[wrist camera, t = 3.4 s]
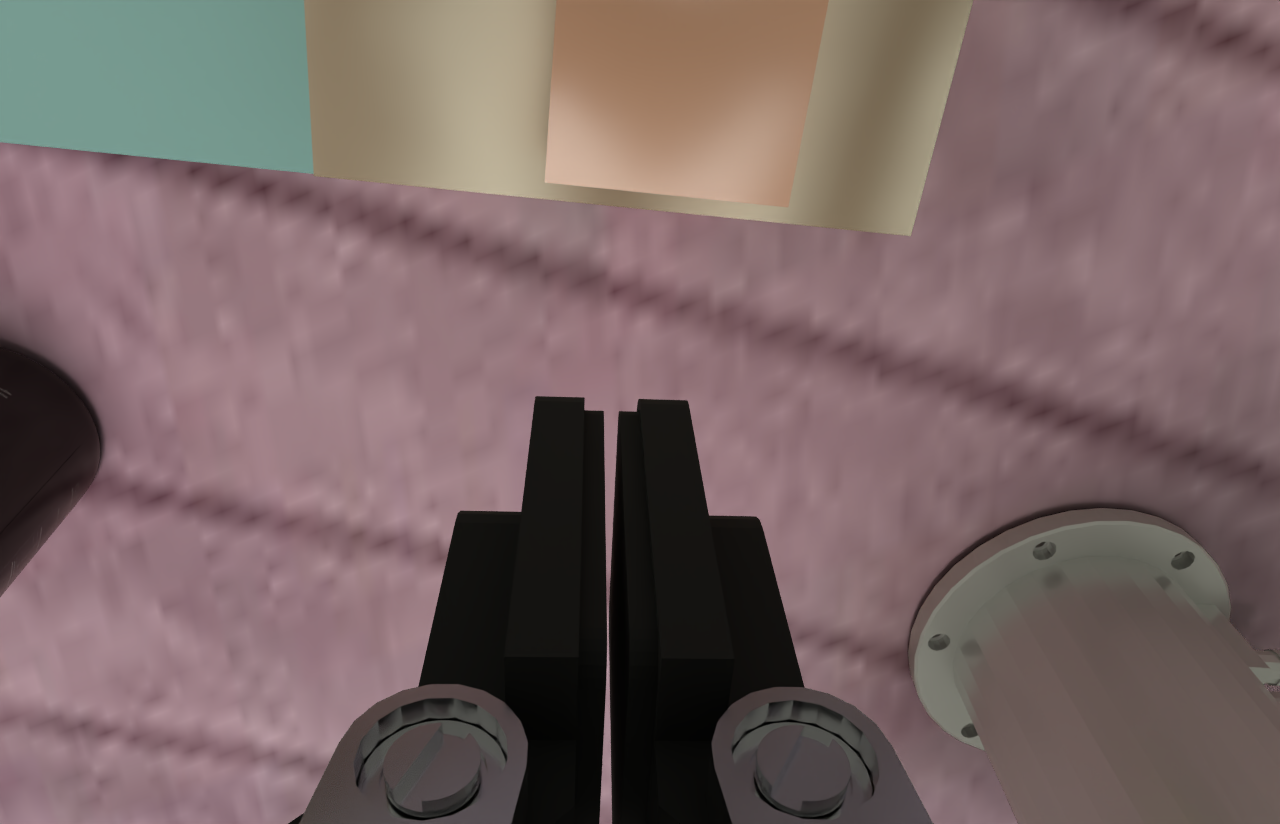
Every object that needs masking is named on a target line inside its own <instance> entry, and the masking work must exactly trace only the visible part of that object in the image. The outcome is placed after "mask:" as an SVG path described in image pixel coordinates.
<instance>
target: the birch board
mask: <svg viewBox="0 0 1280 824" xmlns="http://www.w3.org/2000/svg"><path fill="white" fill-rule="evenodd" d="M972 3H973V0H829V2H828V7H827V12H826V17H825V23H824V28H823V33H822V38H821V43H820V48H819V53H818V58H817V63H816V69H815V74H814V79H813V84H812V89H811V94H810V99H809V104H808V109H807V115H806V120H805V125H804V130H803V135H802V140H801V145H800V150H799V155H798V160H797V166H796V171H795V176H794V181H793V186H792V191H791V196H790V201H789V206H788V207H779V206H769V205H759V204H749V203H740V202H730V201H720V200H710V199H701V198H691V197H681V196H671V195H662V194H652V193H642V192H632V191H623V190H613V189H603V188H593V187H583V186H574V185H564V184H554V183H545V168H546V153H547V137H548V122H549V107H550V91H551V76H552V61H553V46H554V30H555V15H556V0H304V10H305V28H306V46H307V64H308V82H309V100H310V118H311V136H312V153H313V171H314V176H319V177H329V178H339V179H349V180H359V181H369V182H379V183H389V184H398V185H408V186H418V187H428V188H438V189H448V190H458V191H468V192H478V193H488V194H498V195H508V196H518V197H527V198H537V199H547V200H557V201H567V202H577V203H587V204H597V205H607V206H617V207H627V208H637V209H647V210H656V211H666V212H676V213H686V214H696V215H706V216H716V217H726V218H736V219H746V220H756V221H766V222H776V223H786V224H795V225H805V226H815V227H825V228H835V229H845V230H855V231H865V232H875V233H885V234H895V235H905V236H911V233H912V230H913V226H914V222H915V218H916V214H917V211H918V207H919V203H920V199H921V196H922V192H923V188H924V184H925V180H926V177H927V173H928V169H929V165H930V162H931V158H932V154H933V150H934V146H935V143H936V139H937V135H938V131H939V128H940V124H941V120H942V116H943V113H944V109H945V105H946V101H947V97H948V94H949V90H950V86H951V82H952V79H953V75H954V71H955V67H956V63H957V60H958V56H959V52H960V48H961V45H962V41H963V37H964V33H965V29H966V26H967V22H968V18H969V14H970V11H971V7H972Z"/></svg>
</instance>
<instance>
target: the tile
mask: <svg viewBox="0 0 1280 824" xmlns="http://www.w3.org/2000/svg"><path fill="white" fill-rule="evenodd" d="M828 2H829V0H556V15H555V30H554V46H553V61H552V76H551V91H550V107H549V122H548V137H547V153H546V168H545V183H554V184H564V185H574V186H583V187H593V188H603V189H613V190H623V191H632V192H642V193H652V194H662V195H671V196H681V197H691V198H701V199H710V200H720V201H730V202H740V203H749V204H759V205H769V206H779V207H788V206H789V201H790V196H791V191H792V186H793V181H794V176H795V171H796V166H797V160H798V155H799V150H800V145H801V140H802V135H803V130H804V125H805V120H806V115H807V109H808V104H809V99H810V94H811V89H812V84H813V79H814V74H815V69H816V63H817V58H818V53H819V48H820V43H821V38H822V33H823V28H824V23H825V17H826V12H827V7H828Z"/></svg>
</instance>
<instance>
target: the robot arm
mask: <svg viewBox="0 0 1280 824" xmlns="http://www.w3.org/2000/svg"><path fill="white" fill-rule="evenodd" d="M1230 612H1231V603H1230V597H1229V590H1228V585H1227V583H1226V581H1225V578H1224V576H1223V574H1222V572H1221V570H1220V568H1219V566H1218V565H1217V563H1216V562H1215V561H1214V560H1213V559H1212V558H1211V556H1210V555H1209V554H1208V553H1207V552H1206V551H1205V550H1204V548H1203V547H1202V546H1201V545H1200V544H1199V543H1198V542H1197V541H1196V540H1194V539H1193V538H1192V537H1191V536H1190V535H1189V534H1188V533H1186V532H1185V531H1184V530H1183V529H1181V528H1179V527H1177V526H1176V525H1174V524H1172V523H1170V522H1168V521H1166V520H1164V519H1162V518H1160V517H1156V516H1152V515H1149V514H1145V513H1141V512H1137V511H1133V510H1123V509H1110V508H1095V509H1084V510H1072V511H1067V512H1062V513H1058V514H1054V515H1050V516H1045V517H1041V518H1037V519H1035V520H1032V521H1030V522H1027V523H1025V524H1022V525H1020V526H1017V527H1014V528H1012V529H1009V530H1007V531H1005V532H1003V533H1002V534H1000V535H998V536H996V537H995V538H993V539H991V540H989V541H987V542H986V543H984V544H982V545H980V546H979V547H977V548H976V549H975V550H974V551H972V552H971V553H970V554H968V555H967V556H966V557H965V558H963V559H962V560H961V561H959V562H958V563H957V564H955V565H954V566H953V567H952V568H951V570H950V571H949V572H948V573H947V574H946V575H945V576H944V577H943V578H942V579H941V580H940V581H939V582H938V583H937V584H936V585H935V587H934V588H933V590H932V591H931V593H930V594H929V596H928V597H927V599H926V600H925V602H924V603H923V605H922V607H921V608H920V610H919V613H918V615H917V618H916V620H915V623H914V625H913V628H912V630H911V636H910V642H909V649H908V659H909V668H910V675H911V677H912V680H913V683H914V686H915V688H916V691H917V694H918V697H919V699H920V701H921V702H922V704H923V706H924V708H925V709H926V711H927V713H928V715H929V716H930V717H931V718H932V719H933V720H934V721H935V722H936V723H937V724H938V725H939V726H940V727H941V728H942V729H943V730H944V731H945V732H947V733H948V734H950V735H951V736H953V737H954V738H955V739H957V740H959V741H961V742H963V743H965V744H968V745H971V746H973V747H976V748H978V749H981V750H983V751H986V753H987V756H988V758H989V760H990V762H991V764H992V767H993V769H994V771H995V773H996V776H997V778H998V780H999V782H1000V784H1001V787H1002V789H1003V791H1004V793H1005V795H1006V798H1007V800H1008V802H1009V804H1010V806H1011V809H1012V811H1013V813H1014V815H1015V817H1016V820H1017V822H1018V824H1280V692H1277V691H1268V690H1267V688H1266V687H1265V686H1264V684H1265V683H1267V684H1268V685H1273V686H1280V650H1264V651H1258V650H1254V649H1253V648H1252V647H1251V646H1250V645H1249V643H1248V642H1247V641H1246V640H1245V639H1244V638H1243V636H1242V635H1241V634H1240V633H1239V632H1238V631H1237V630H1236V628H1235V627H1234V626H1233V625H1232V624H1231V623H1230V621H1229V620H1230ZM609 660H610V718H611V775H612V824H933V823H932V821H931V819H930V817H929V815H928V813H927V811H926V809H925V808H924V806H923V804H922V802H921V800H920V798H919V796H918V794H917V792H916V791H915V789H914V787H913V785H912V783H911V781H910V779H909V777H908V775H907V774H906V772H905V770H904V768H903V766H902V764H901V762H900V760H899V758H898V757H897V755H896V753H895V751H894V749H893V747H892V745H891V744H890V743H889V741H888V740H887V738H886V737H885V736H884V734H883V733H882V732H881V730H880V729H879V727H878V726H877V725H876V724H875V723H874V722H873V721H872V720H871V719H869V718H868V717H867V716H866V715H864V714H863V713H862V712H861V711H859V710H858V709H857V708H856V707H855V706H853V705H851V704H849V703H847V702H845V701H843V700H841V699H838V698H836V697H834V696H832V695H830V694H828V693H824V692H820V691H815V690H811V689H807V688H804V684H803V680H802V676H801V673H800V669H799V665H798V661H797V657H796V654H795V650H794V646H793V642H792V638H791V634H790V631H789V627H788V623H787V619H786V615H785V612H784V608H783V604H782V600H781V596H780V592H779V589H778V585H777V581H776V577H775V573H774V570H773V566H772V562H771V558H770V554H769V550H768V547H767V543H766V539H765V535H764V531H763V528H762V525H761V522H760V520H759V519H758V518H757V517H751V516H709V514H708V509H707V503H706V498H705V492H704V486H703V481H702V475H701V470H700V464H699V459H698V453H697V448H696V442H695V437H694V431H693V426H692V420H691V415H690V409H689V404H688V401H686V400H652V399H639V400H638V405H637V412H623V411H619V417H618V435H617V456H616V477H615V497H614V518H613V538H612V559H611V580H610V601H609ZM606 666H607V607H606V537H605V468H604V411H586V410H584V398H579V397H543V396H536V397H535V404H534V412H533V420H532V429H531V437H530V445H529V453H528V462H527V470H526V478H525V487H524V495H523V503H522V511H521V512H498V511H460V512H459V513H458V515H457V518H456V522H455V526H454V530H453V535H452V539H451V544H450V548H449V553H448V557H447V561H446V566H445V570H444V575H443V579H442V584H441V588H440V593H439V597H438V602H437V606H436V611H435V615H434V620H433V624H432V628H431V633H430V637H429V642H428V646H427V651H426V655H425V660H424V664H423V669H422V673H421V678H420V682H419V687H416V688H411V689H407V690H403V691H401V692H398V693H396V694H394V695H392V696H390V697H388V698H386V699H384V700H382V701H380V702H377V703H376V704H375V705H373V706H372V707H371V708H370V709H368V710H367V711H366V712H365V713H364V714H362V715H361V716H360V717H359V718H357V719H356V720H355V721H354V722H353V724H352V725H351V726H350V728H349V729H348V731H347V732H346V734H345V735H344V736H343V738H342V739H341V741H340V742H339V744H338V746H337V748H336V750H335V752H334V754H333V756H332V758H331V760H330V762H329V764H328V766H327V768H326V770H325V772H324V774H323V776H322V778H321V780H320V782H319V784H318V786H317V788H316V790H315V792H314V794H313V796H312V798H311V800H310V802H309V804H308V806H307V808H306V810H305V813H303V814H302V815H300V816H299V817H298V818H296V819H295V820H293V821H292V822H290V823H289V824H599V817H600V796H601V776H602V755H603V735H604V714H605V694H606Z"/></svg>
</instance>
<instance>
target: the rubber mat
mask: <svg viewBox="0 0 1280 824" xmlns="http://www.w3.org/2000/svg"><path fill="white" fill-rule="evenodd" d="M0 142H4V143H14V144H24V145H34V146H44V147H54V148H63V149H73V150H83V151H93V152H103V153H113V154H123V155H133V156H143V157H153V158H162V159H172V160H182V161H192V162H202V163H212V164H222V165H232V166H242V167H252V168H262V169H271V170H281V171H291V172H301V173H311V174H314V171H313V153H312V136H311V118H310V100H309V82H308V64H307V46H306V28H305V10H304V0H0Z"/></svg>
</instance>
